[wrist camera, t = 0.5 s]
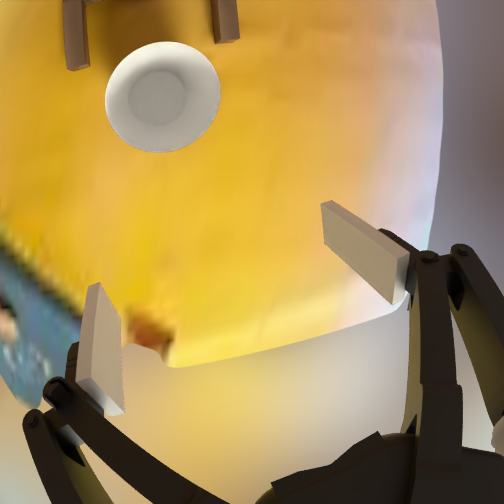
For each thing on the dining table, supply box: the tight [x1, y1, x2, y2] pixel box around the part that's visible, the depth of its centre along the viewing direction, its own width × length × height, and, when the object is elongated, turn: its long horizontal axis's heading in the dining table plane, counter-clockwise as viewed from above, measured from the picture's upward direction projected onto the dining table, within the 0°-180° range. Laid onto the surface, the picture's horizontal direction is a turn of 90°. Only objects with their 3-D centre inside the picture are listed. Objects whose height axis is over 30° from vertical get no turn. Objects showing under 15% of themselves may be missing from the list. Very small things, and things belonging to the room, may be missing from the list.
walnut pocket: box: [63, 0, 240, 71], centre depth 23 cm, size 18×10×3 cm, turn 95°
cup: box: [105, 42, 221, 153], centre depth 25 cm, size 9×9×12 cm
